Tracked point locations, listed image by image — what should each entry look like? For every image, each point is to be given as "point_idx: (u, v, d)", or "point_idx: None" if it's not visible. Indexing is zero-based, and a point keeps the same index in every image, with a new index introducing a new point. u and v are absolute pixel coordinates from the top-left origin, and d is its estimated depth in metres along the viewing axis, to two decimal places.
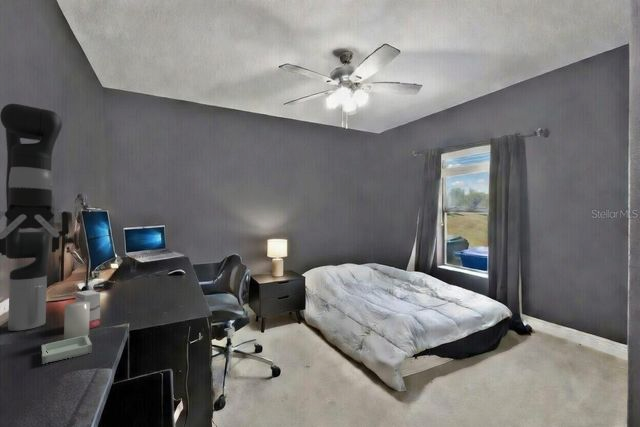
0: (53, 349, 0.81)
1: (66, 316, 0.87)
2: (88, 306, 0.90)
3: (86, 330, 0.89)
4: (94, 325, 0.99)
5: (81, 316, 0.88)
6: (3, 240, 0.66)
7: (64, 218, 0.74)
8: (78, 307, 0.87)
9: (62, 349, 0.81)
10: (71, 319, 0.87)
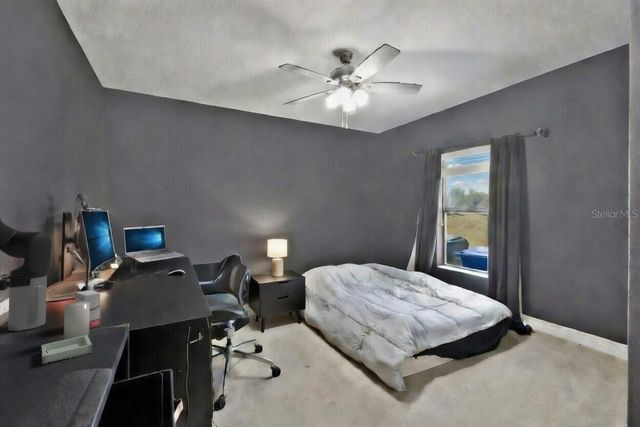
0: (53, 349, 0.81)
1: (66, 316, 0.87)
2: (88, 306, 0.90)
3: (86, 330, 0.89)
4: (94, 325, 0.99)
5: (81, 316, 0.88)
6: None
7: None
8: (78, 307, 0.87)
9: (62, 349, 0.81)
10: (71, 319, 0.86)
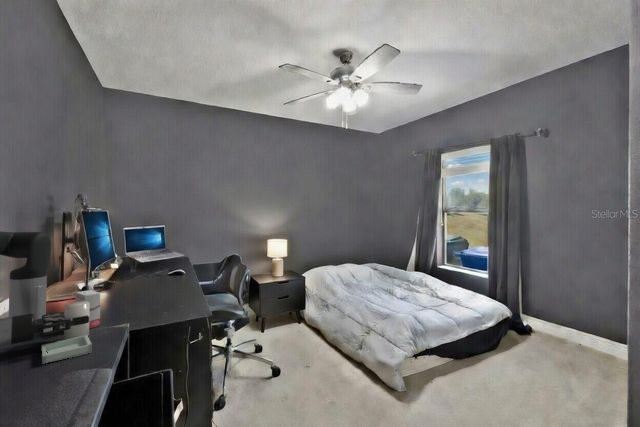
0: (53, 349, 0.81)
1: (66, 316, 0.87)
2: (88, 306, 0.90)
3: (86, 330, 0.90)
4: (94, 325, 0.99)
5: (81, 316, 0.88)
6: None
7: None
8: (78, 307, 0.87)
9: (62, 349, 0.81)
10: None
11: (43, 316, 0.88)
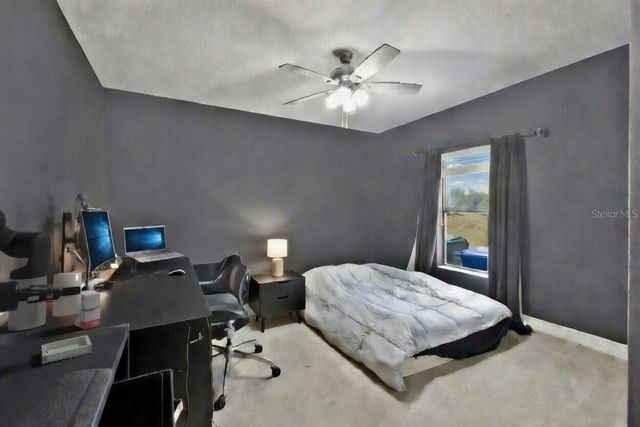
0: (53, 349, 0.81)
1: (55, 286, 0.78)
2: (80, 276, 0.81)
3: (78, 303, 0.80)
4: (94, 325, 0.99)
5: (72, 286, 0.79)
6: None
7: None
8: (69, 276, 0.79)
9: (62, 349, 0.81)
10: None
11: (30, 286, 0.79)
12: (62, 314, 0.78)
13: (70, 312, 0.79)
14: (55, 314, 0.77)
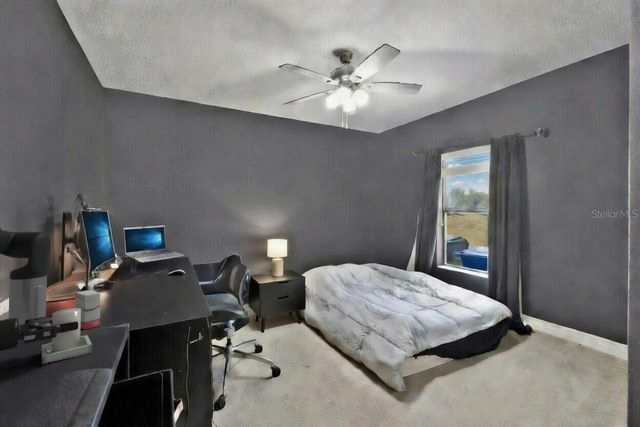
0: None
1: None
2: (79, 313, 0.81)
3: (77, 341, 0.80)
4: (94, 325, 0.99)
5: None
6: None
7: None
8: (68, 315, 0.78)
9: None
10: None
11: (27, 321, 0.79)
12: None
13: None
14: None
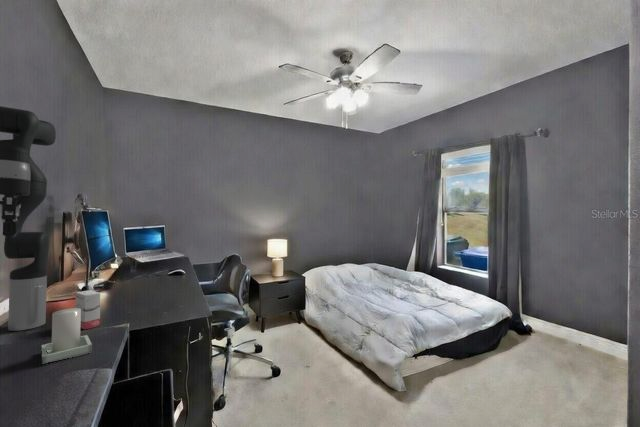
0: None
1: (54, 325, 0.77)
2: (79, 313, 0.81)
3: (77, 341, 0.80)
4: (94, 325, 0.99)
5: (71, 325, 0.79)
6: None
7: None
8: (68, 315, 0.78)
9: None
10: (59, 329, 0.77)
11: (16, 201, 0.85)
12: None
13: None
14: None
